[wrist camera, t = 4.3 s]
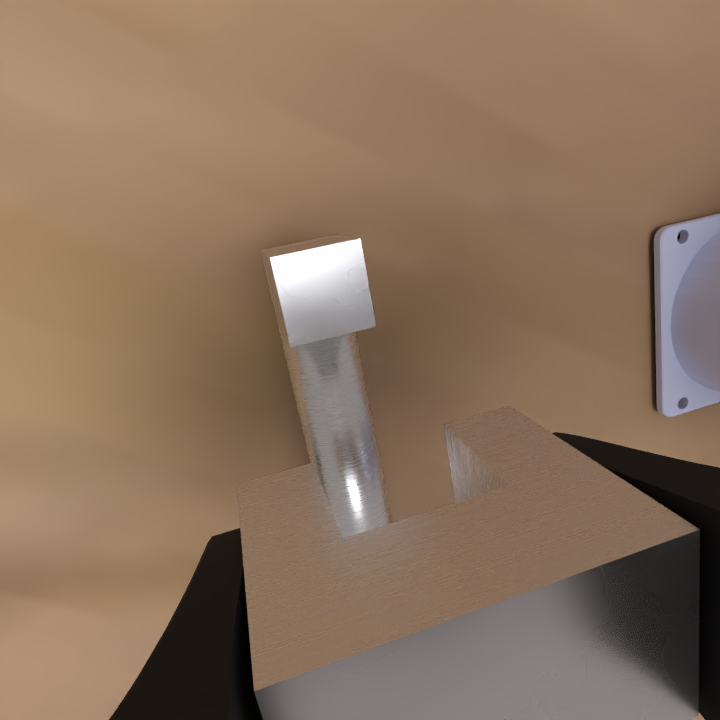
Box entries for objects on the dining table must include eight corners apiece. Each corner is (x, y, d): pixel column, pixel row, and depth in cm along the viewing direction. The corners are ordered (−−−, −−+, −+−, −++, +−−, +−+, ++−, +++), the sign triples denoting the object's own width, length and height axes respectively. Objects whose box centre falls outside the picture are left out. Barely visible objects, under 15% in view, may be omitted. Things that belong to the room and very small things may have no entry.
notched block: (509, 405, 11) (699, 528, 7) (523, 534, 12) (698, 715, 7) (236, 484, 10) (253, 691, 6) (274, 618, 11) (314, 883, 6)
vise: (450, 201, 19) (563, 195, 13) (508, 658, 25) (603, 801, 19) (-39, 300, 16) (-194, 355, 10) (163, 792, 22) (145, 1012, 16)
